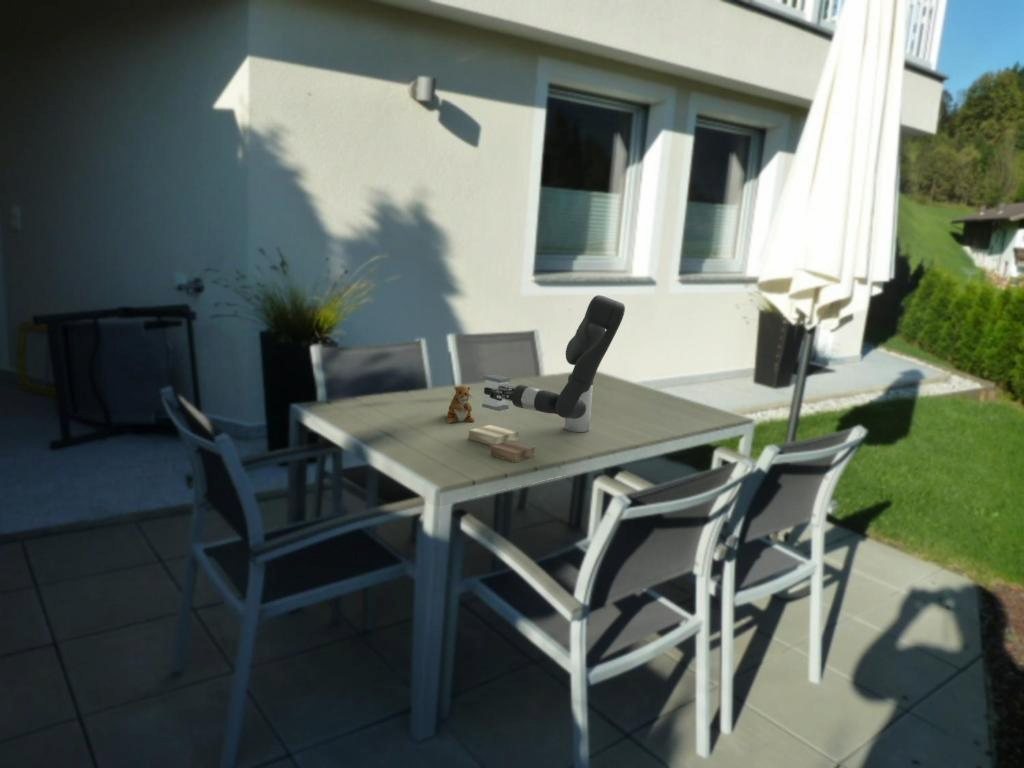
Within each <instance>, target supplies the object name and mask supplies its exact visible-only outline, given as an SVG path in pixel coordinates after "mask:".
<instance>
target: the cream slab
mask: <svg viewBox="0 0 1024 768" xmlns="http://www.w3.org/2000/svg"><path fill="white" fill-rule="evenodd" d="M518 439H519V431H518V430H514V429H510V428H506V427H505V426H504V427H503V426H499V425H496V424H492V423H491V424H488V425H487V424H486V425H483V426H480V427H475V428H473V429H469V430H468V440H472V441H475V442H478V443H483V444H485V445H488V444H489V446H493V445H496V444H499V443H503V442H506V441H510V440H512V441H515V442H517V441H518Z"/></svg>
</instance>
